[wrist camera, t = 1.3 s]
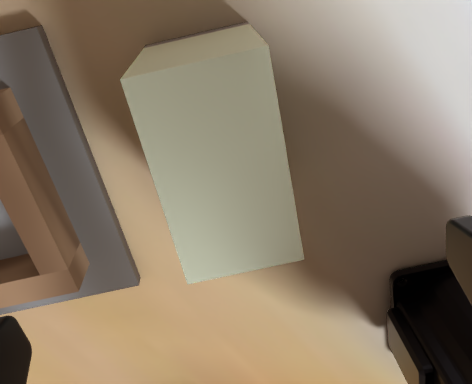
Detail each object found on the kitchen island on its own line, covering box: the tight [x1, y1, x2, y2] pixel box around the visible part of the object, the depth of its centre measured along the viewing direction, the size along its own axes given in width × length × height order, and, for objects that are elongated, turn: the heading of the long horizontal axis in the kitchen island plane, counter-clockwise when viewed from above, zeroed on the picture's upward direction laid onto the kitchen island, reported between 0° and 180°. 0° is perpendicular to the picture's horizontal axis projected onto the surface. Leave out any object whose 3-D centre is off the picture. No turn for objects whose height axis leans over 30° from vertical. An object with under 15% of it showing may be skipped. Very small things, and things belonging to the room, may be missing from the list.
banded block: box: [120, 22, 304, 284], centre depth 16 cm, size 4×7×6 cm, turn 12°
